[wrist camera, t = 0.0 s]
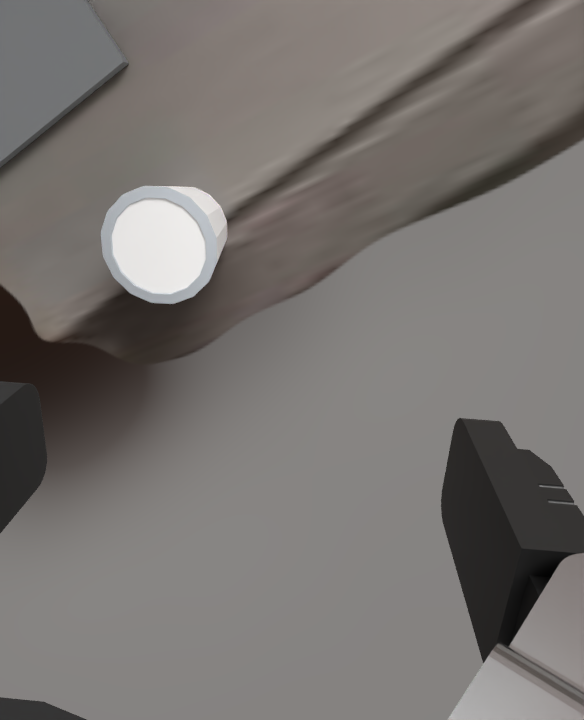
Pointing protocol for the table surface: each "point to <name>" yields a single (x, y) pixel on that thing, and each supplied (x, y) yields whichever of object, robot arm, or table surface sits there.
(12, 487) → the robot arm
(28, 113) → the mat
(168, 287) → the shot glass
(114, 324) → the table surface
